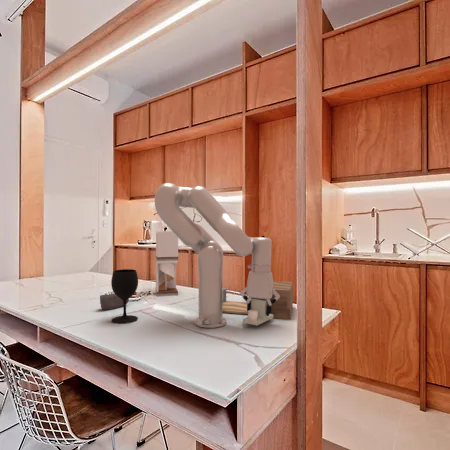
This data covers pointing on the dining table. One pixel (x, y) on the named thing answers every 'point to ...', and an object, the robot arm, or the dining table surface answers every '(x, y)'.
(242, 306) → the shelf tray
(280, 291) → the brown wooden block
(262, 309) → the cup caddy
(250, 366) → the dining table surface
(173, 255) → the display case
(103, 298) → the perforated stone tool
